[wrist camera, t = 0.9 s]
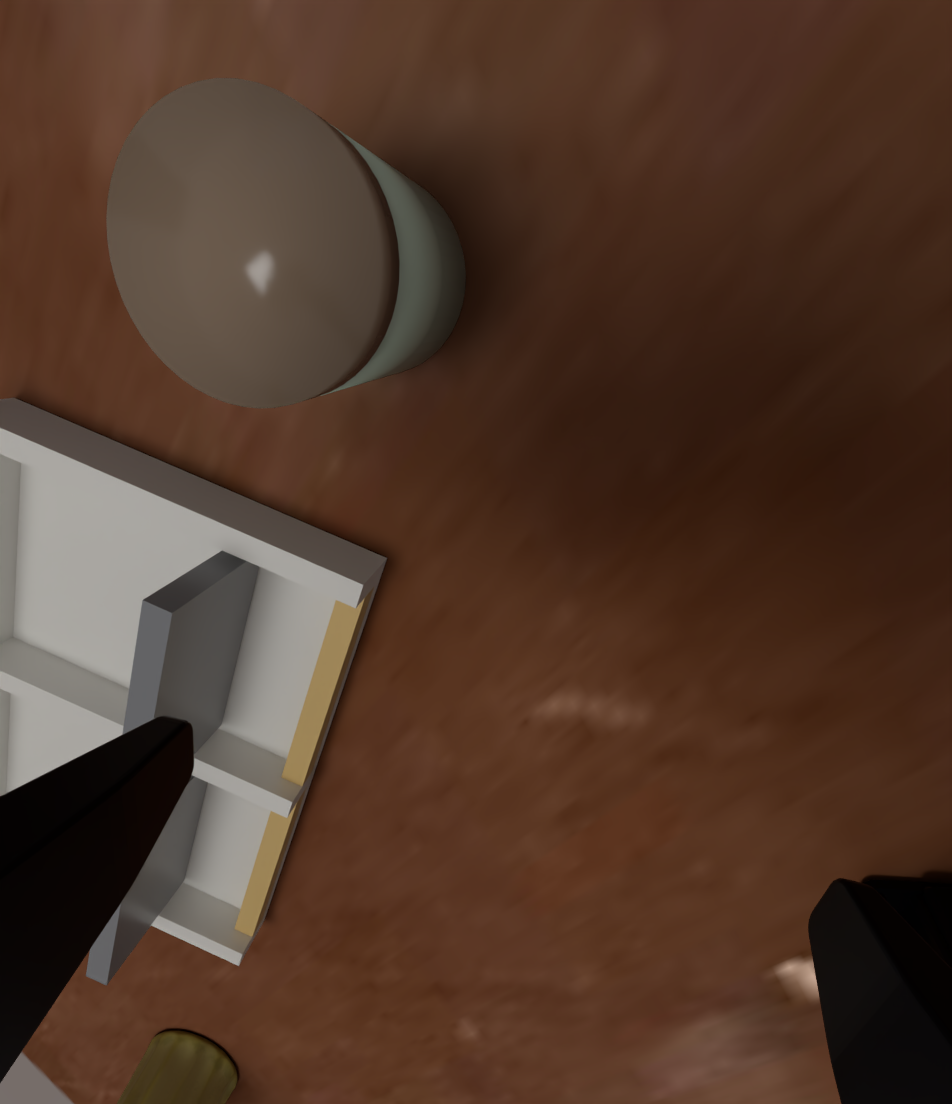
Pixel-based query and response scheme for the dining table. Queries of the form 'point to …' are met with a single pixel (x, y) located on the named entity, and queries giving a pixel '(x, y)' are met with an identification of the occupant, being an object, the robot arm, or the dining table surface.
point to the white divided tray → (108, 652)
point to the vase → (181, 1072)
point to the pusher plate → (191, 646)
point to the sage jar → (275, 249)
